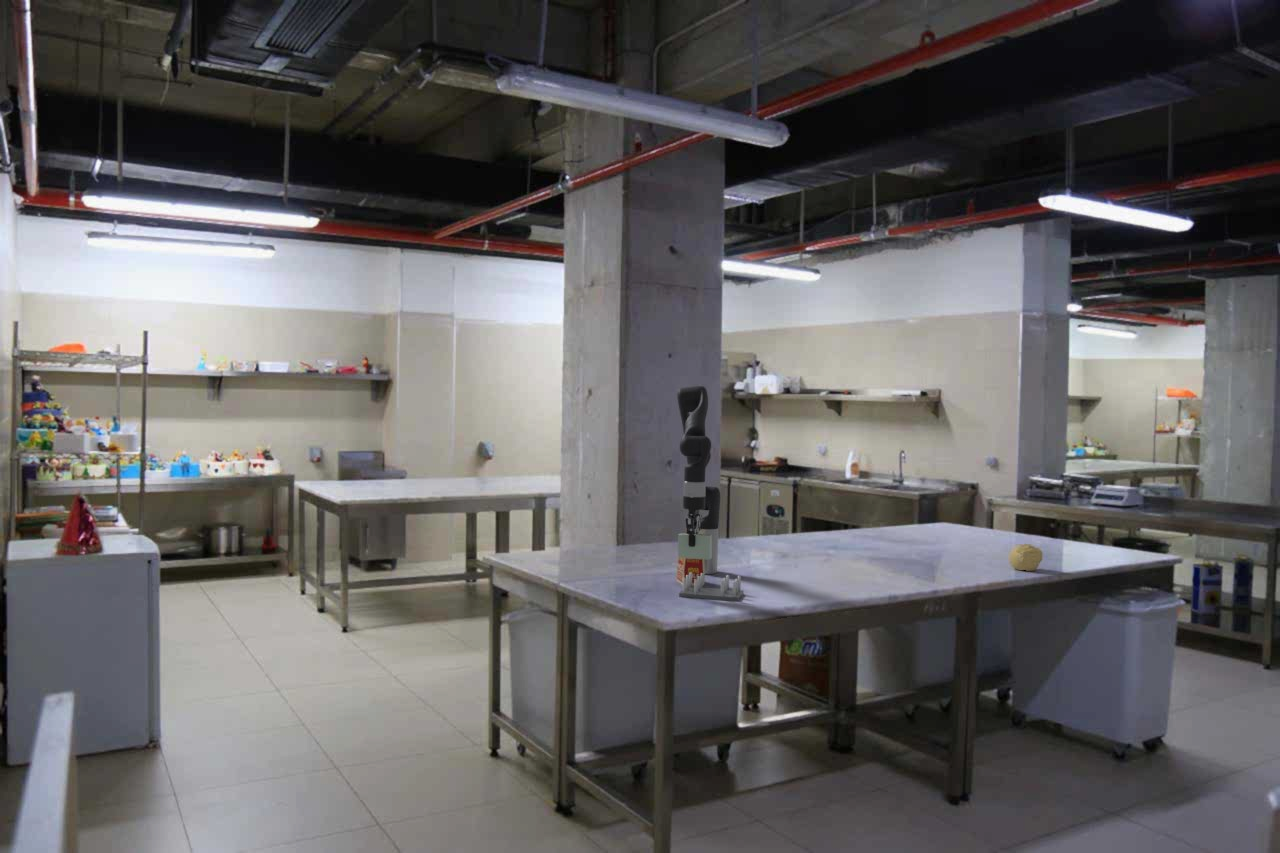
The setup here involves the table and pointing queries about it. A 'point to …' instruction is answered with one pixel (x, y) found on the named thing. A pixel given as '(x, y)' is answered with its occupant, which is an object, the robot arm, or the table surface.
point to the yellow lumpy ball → (1025, 557)
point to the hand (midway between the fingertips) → (693, 545)
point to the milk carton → (690, 568)
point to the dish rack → (711, 589)
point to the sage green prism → (699, 550)
